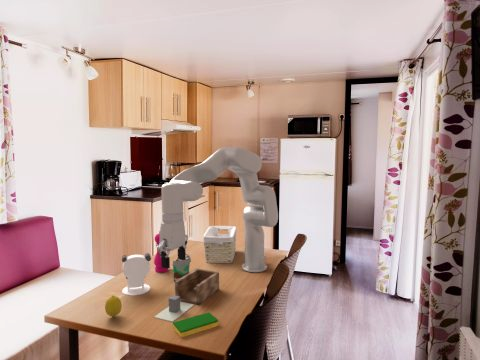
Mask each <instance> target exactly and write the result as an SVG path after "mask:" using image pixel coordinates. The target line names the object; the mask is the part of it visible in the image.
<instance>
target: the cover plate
mask: <svg viewBox="0 0 480 360" xmlns="http://www.w3.org/2000/svg"><path fill="white" fill-rule="evenodd" d="M194 306H195V304H192V303H188V302H183V301H180V296H175V294H174V295H172V296H170V297H168V306H167V307H165V308H164V309H163V310H162V311H160V312H158V313H157V314H156V315H154V316H153V318H155V319H160V320H163V321H167V322H171V323H173V322H176V321H177V319H179V318H180V317H181V316H182V315H184V314H185V313H187V312H188V311H189V310H190V309H192V308H193V307H194Z"/></svg>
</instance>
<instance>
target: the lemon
mask: <svg viewBox="0 0 480 360" xmlns="http://www.w3.org/2000/svg"><path fill="white" fill-rule="evenodd" d="M104 310H105V312H106V315H108V316H109V317H112V318H116V316H118V315H119V314H120V313H121V311H122V300H121V299H120V298H119V297H118V296H116V295H111V296H109V297H108V298H107V299H106V301H105V304H104Z"/></svg>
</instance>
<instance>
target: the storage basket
mask: <svg viewBox="0 0 480 360" xmlns="http://www.w3.org/2000/svg"><path fill="white" fill-rule="evenodd" d="M219 231H220V232H221V231H222V232H223V231H224V232H227V233H219ZM202 236H203V239H202V241H203V242H202V243H203V247H204V257H205V263H209V264H212V263H213V264H230V263H232V264H233V261H234V260H235V259H234V257H235V255H236V251H237V250H236V249H237V248H236V241H237V239H236V238H237V226H236V225H233V226H232V225H209V226H208V228H207V229H206V231H205V233H204V234H203V235H202Z"/></svg>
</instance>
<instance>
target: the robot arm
mask: <svg viewBox="0 0 480 360" xmlns="http://www.w3.org/2000/svg"><path fill="white" fill-rule="evenodd" d="M262 166H263V161H262V158H261V157H260V156H259V155H258V154H257V153H255V152H253V151H250V150H248V149H246V148H244V147H239V146H238V147H237V146H232V147H231V146H229V147H228V146H227V147H225V146H224V147H220V148H218V149H217V150H216V151H215V152H213V153H212V154H211V155H210V156H209V157H207V158H206V159H205V160H204V161H202V162H201V163H198V164H196V165H194V166H191V167H189V168H186V169H184V170H183V171H181V172H180V173H178V174H177V175H175V177H173V178H172V179H171V180H169V182H167V183H165V182H164V184H162V185H161V222H160V228H159V231H160V241H159V245H158V247H156V251H157V250H158V254H159V255H160V257H161V266H162V267H163V268H168V269H170V268H171V262H170V261H171V260H170V259H171V258H170V256H169V255H170V253H171V252H172V251H174V250H176V249H177V259H181V260H185V259H186V254H187V253H186V249H187V245H188V240H189V239H188V238H189V235H188V234H186V227H185V221H184V202H195V201H198V200H199V199H201V197H202V196H203V193H204V189H203V186H202V185H201V184H205V183H209V182H212V181H215V180H217V179H218V178H219V177H220V176H221V175H222V174H223V173H224V172H225V171H226V170H227V169H228V170H230V171H231V172H233V173H234V174H236V175H237V177H238V179H239V183H240V189H241V194H242V198H243V201H244V203H245V204H247V205H246V206H245V207H244V209H243V212H242V220H243V224H244V225H243V226H244V263H242V265H241V269H242V270H243V271H244V272H249V273H262V272H264V271H266V270H267V269H268V264H266V263H265V260H266V256H265V231H264V229H263V227H268V228H272V227H275V226H277V223H278V220H279V211H278V205H277V204H278V203H277V196H276V192H275V190H274V189H273V187H271V186H269V185H262V184H260V183H259V178H258V173H259V172H260V171H261V169H262ZM165 251H166V253H165Z"/></svg>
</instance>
